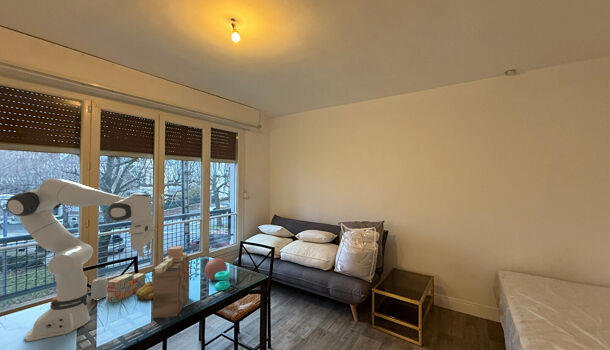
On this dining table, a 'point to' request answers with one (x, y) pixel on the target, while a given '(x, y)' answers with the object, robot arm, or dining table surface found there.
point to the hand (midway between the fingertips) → (145, 252)
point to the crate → (175, 251)
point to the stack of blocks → (124, 286)
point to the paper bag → (171, 289)
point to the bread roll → (145, 291)
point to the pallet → (169, 263)
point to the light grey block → (99, 288)
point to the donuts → (222, 284)
